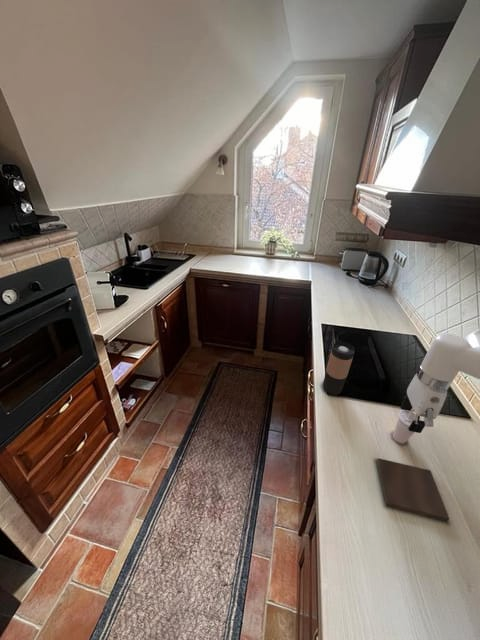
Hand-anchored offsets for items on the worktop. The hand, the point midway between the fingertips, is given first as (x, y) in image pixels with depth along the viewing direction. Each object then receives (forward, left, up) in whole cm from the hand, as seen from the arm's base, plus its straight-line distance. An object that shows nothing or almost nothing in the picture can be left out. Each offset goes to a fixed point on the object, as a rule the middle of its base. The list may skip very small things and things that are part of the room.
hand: (409, 419), depth 77 cm
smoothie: (0, 0, -9) cm, 9 cm away
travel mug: (+20, -17, -9) cm, 28 cm away
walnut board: (+2, +16, -9) cm, 19 cm away
